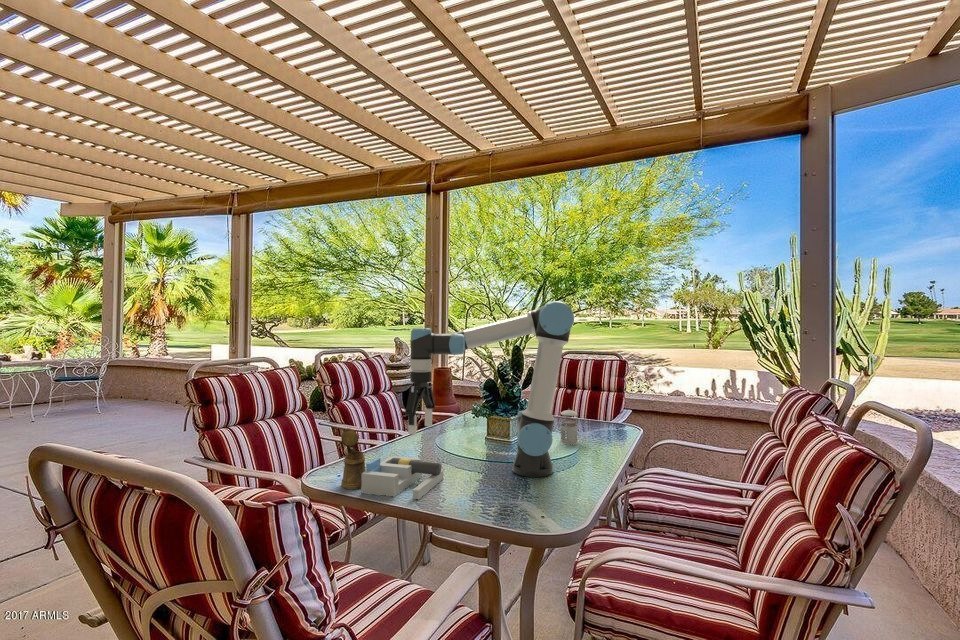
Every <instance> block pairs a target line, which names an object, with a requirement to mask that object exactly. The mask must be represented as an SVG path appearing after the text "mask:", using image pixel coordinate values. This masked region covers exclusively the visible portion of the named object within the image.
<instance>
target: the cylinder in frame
mask: <svg viewBox="0 0 960 640" xmlns="http://www.w3.org/2000/svg"><path fill="white" fill-rule="evenodd" d="M393 458H396V459H401V458H402V459H411V460H414V461H422V460H423V459H422V458H419V457H407V456H396V455H392V456H390V457H388V458H387V459H385V460H383V461H381V457H375V458H374V459H372V460H369V461H368V462H366V463H365V469H366V471H365V472H363V473H362V486H361V488H360V491H361V494H363V493H369V494H368V495H372V494H376V495H375V496H380V495H386V496H385V497H389V496H393V497H392V498H395V497H396V495H397V494H398V495H400V494H401V493H402V492H403V491H404V490H406V489H407V488H408V487H410V486H411V485H412V484H413V482H414V483H415V482H416V481H418V480H419V479H420V478H422V477H423V476H422V475H423V473H416V472H411V465H400V464H390V463H391V460H392V459H393ZM421 476H422V477H421ZM417 479H418V480H417ZM443 480H444V470H443V469H441V473H440V475H432V474H430V475H429V476H428V477H427V478H426V479H425V480H424V481H423V482H421V483H420V484H419V485H417V486H416V487H415V488H414V489H412V500H415V499H418V500H417V501H420V499H421V498H423V497H424V496H425V495H426V494H427V493H429V492H430V491H431V490H432V489H433V488H434V487H435V486H437V483H438V484H439V483H440V482H441V481H443ZM409 485H410V486H409ZM405 488H406V489H405ZM430 489H431V490H430ZM429 490H430V491H429ZM401 491H402V492H401ZM400 492H401V493H400ZM398 495H397V496H398ZM423 495H424V496H423ZM422 496H423V497H422Z"/></svg>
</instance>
